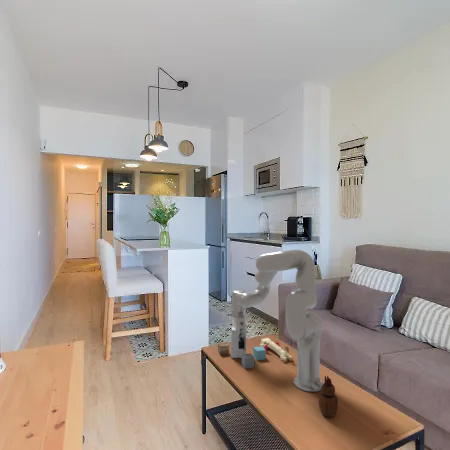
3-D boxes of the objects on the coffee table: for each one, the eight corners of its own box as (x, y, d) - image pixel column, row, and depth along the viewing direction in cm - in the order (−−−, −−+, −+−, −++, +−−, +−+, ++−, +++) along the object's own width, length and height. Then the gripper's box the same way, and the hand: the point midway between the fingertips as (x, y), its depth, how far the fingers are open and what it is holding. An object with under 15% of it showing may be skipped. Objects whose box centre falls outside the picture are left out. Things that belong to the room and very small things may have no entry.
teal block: (265, 359, 161) (265, 349, 161) (256, 360, 160) (256, 350, 160) (262, 355, 166) (262, 346, 166) (253, 356, 164) (253, 347, 164)
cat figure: (295, 362, 160) (269, 342, 183) (296, 346, 159) (269, 328, 182) (280, 366, 156) (254, 345, 178) (281, 350, 155) (255, 330, 178)
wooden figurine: (324, 420, 111) (325, 379, 110) (315, 411, 116) (315, 371, 116) (340, 417, 112) (341, 376, 112) (331, 408, 118) (331, 369, 118)
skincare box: (230, 358, 162) (230, 330, 162) (231, 353, 168) (231, 326, 168) (246, 358, 162) (246, 330, 162) (246, 353, 168) (246, 326, 168)
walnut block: (228, 354, 167) (228, 345, 167) (220, 355, 166) (220, 346, 166) (226, 350, 172) (226, 341, 172) (217, 351, 171) (217, 342, 171)
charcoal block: (254, 367, 152) (254, 357, 152) (244, 368, 151) (244, 358, 151) (250, 363, 157) (250, 353, 157) (241, 364, 155) (241, 354, 155)
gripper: (250, 317, 157) (250, 350, 158) (240, 308, 174) (240, 338, 174) (236, 318, 156) (236, 352, 156) (227, 309, 172) (227, 339, 172)
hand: (238, 345), depth 165 cm, fingers open, 9 cm apart
